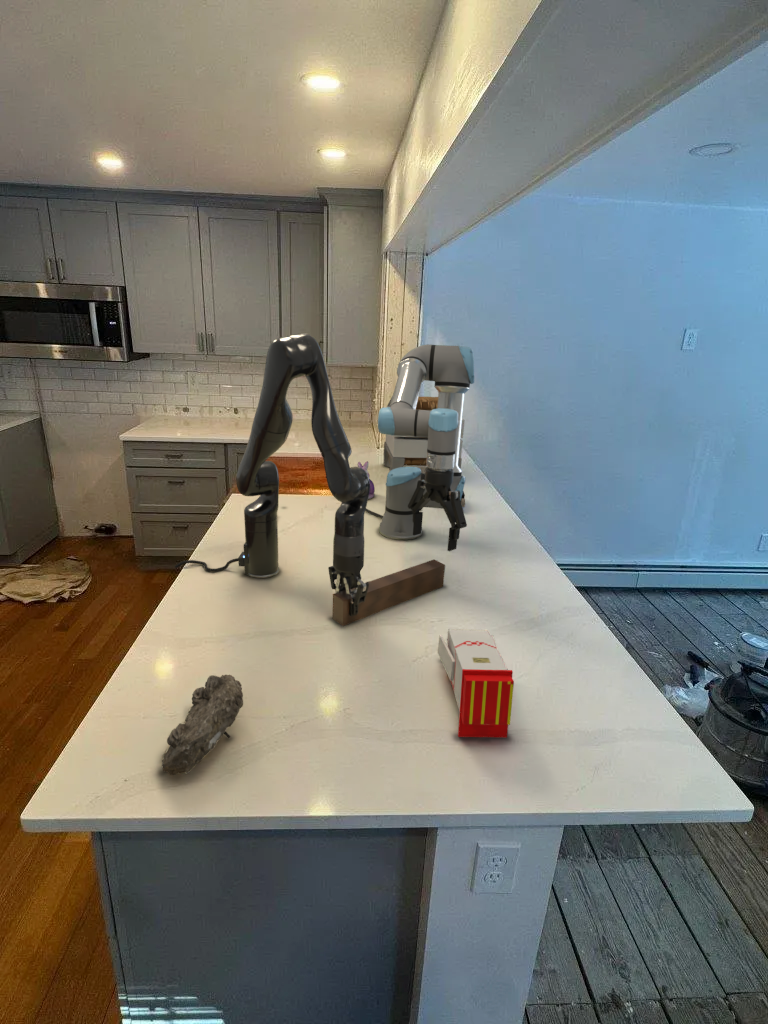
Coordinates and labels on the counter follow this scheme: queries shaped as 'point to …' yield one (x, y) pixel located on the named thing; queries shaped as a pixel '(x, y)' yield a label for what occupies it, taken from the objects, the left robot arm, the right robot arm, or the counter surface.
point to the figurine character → (463, 499)
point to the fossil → (203, 723)
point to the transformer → (412, 443)
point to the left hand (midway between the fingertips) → (347, 610)
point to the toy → (478, 682)
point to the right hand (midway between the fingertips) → (433, 541)
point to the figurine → (369, 479)
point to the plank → (391, 591)
